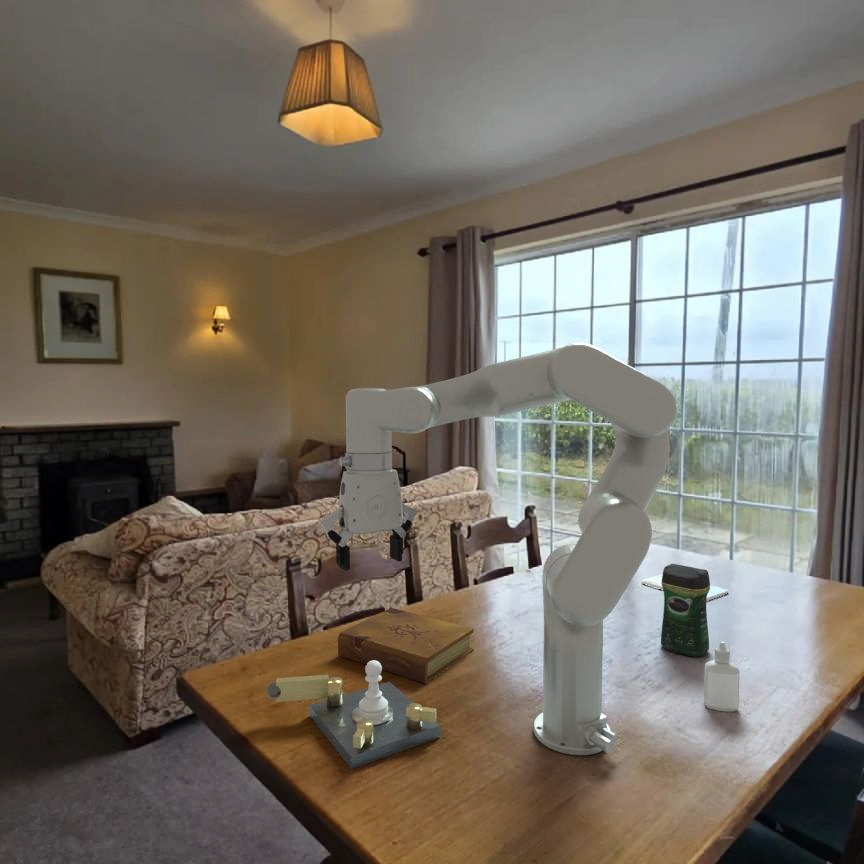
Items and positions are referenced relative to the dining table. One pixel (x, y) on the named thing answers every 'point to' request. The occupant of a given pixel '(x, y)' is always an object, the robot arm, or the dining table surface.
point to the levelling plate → (375, 726)
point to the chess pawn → (373, 694)
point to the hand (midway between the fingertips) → (370, 563)
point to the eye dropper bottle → (721, 682)
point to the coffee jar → (685, 610)
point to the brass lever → (307, 689)
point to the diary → (406, 644)
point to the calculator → (712, 594)
